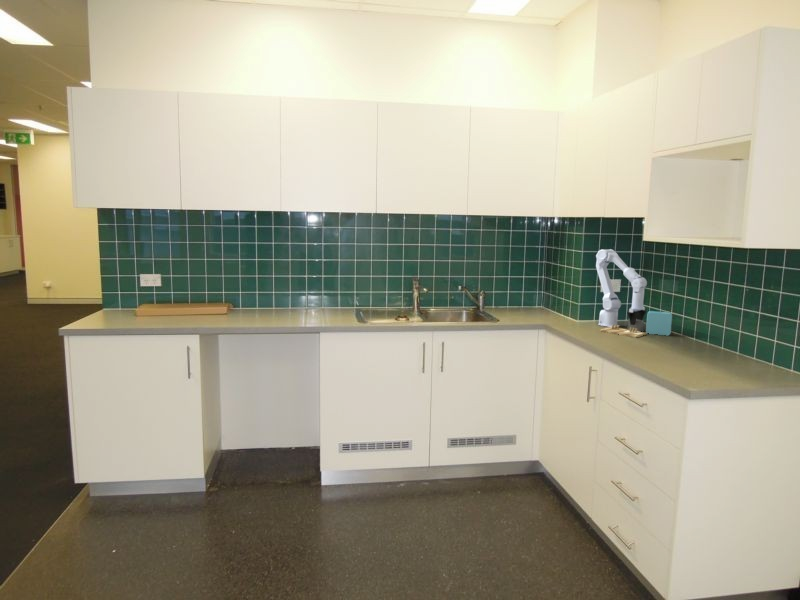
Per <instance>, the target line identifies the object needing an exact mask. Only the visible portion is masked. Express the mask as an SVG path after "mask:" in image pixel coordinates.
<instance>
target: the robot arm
mask: <svg viewBox="0 0 800 600" xmlns="http://www.w3.org/2000/svg"><path fill="white" fill-rule="evenodd" d="M595 258H596V262H595V269H596V271H597V275H598V279H599V282H600V285H601V290H602V292H603V297H602V308H603V309H601V310H600V311H599V316H598V317H599V318H598V324H597V325H598V326H602V327H606V328H608V327H612V324H613V325H614V327H615V325H619V324H618V318H619V309H620V308H621V306H622V301H621V299H619V297H618V295H617V294H616V293H615V291H614V288H613V285H612V282H611V277H610V275H609V271H608V268H607V267H608V266H609V264H610V263H613V264H615V265H616V266H617V267H618V268H619V269H620V270H621V271H622V272H623V276H624V277H625V278H626V279H627V280H628V281H629V283H630V285H631V286H632V297H631V298H632V299H631V307H630V308H629V309H628V311H627V315H628V319H630V324H631V325H635V323H636V319H637V320H644V316H645V315H646V314H647V310H646V307H645V306H644V299H645V288H646V287H647V285H648V281H647V279H646V277H642V276H641V274H639V273H638V272H636V269H635V268H633V267H629V266H628V265H627V264H626V262H624V261H623V259H622V258H621V257H620V256H619V254H618V253H617V252H616V251H615V250H614V249H611V248H610V249H602V248H601V249H599V250H598V252H597V253H596V255H595ZM620 326H621V325H619V327H620ZM616 328H617V326H616Z"/></svg>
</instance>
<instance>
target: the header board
mask: <svg viewBox="0 0 800 600" xmlns="http://www.w3.org/2000/svg"><path fill="white" fill-rule="evenodd" d="M616 326H617V327H616ZM634 329H635V328H633V330H632V328H631V327H630V330H628V329H627V328H622V327H620V326H619V324H617V325H615V327H614V325H613V324H612V327H604V328H600V329H599V332H601V331H603V333H607V332H608V333H607V334H612V333H614V334H613V335H618V334H619V336H623V335H625V336H624V337H629V336H630V338H635V337H637V338H640V337H643V335H644V336H647V335H648V334H647V333H646V331H642V332H640V331H637V328H636V329H635V331H634ZM646 334H647V335H646Z"/></svg>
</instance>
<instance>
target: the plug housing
mask: <svg viewBox="0 0 800 600" xmlns="http://www.w3.org/2000/svg"><path fill="white" fill-rule="evenodd" d="M627 321H628V322H627V328H626V329H628V330H630V327H631V328H632V330H633V328H635V329H636V328H637V331H640V332H641V331H642V332H644V325H645V321H644V319H642V320H637V318H636V323H635V325H631V324H630V319H629V318H628V319H627ZM635 329H634V331H635Z"/></svg>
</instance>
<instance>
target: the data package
mask: <svg viewBox="0 0 800 600" xmlns="http://www.w3.org/2000/svg"><path fill="white" fill-rule="evenodd" d="M672 322H673V314H672V313H671V312H666V311H656V310H655V311H654V310H649V311H647V312H646V324H645V325H646V326H645V333H649V334H648V335H654V334H658V335H657V336H664V335H666V336H665V337H667V336H670V335H671V331H672Z"/></svg>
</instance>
